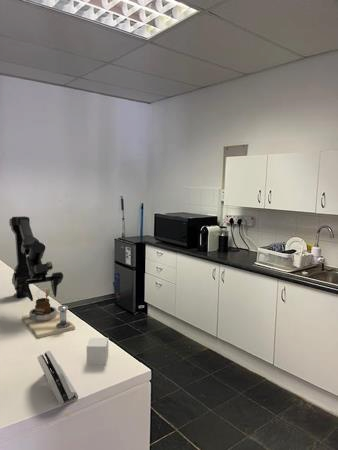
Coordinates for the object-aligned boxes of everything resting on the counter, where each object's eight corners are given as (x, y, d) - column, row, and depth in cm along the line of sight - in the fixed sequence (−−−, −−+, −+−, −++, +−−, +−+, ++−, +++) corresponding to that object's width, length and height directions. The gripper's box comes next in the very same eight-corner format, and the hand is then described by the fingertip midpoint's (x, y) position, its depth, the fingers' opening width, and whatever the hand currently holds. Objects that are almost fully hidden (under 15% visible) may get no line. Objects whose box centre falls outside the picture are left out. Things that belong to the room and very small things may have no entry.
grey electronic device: (79, 398, 88) (66, 368, 85) (62, 410, 86) (47, 379, 83) (61, 368, 102) (49, 341, 99) (46, 378, 99) (33, 350, 97)
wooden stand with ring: (21, 318, 138) (21, 298, 137) (55, 311, 147) (55, 292, 146) (37, 338, 121) (37, 315, 120) (74, 329, 130) (74, 307, 129)
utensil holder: (43, 312, 142) (42, 285, 141) (54, 315, 139) (53, 287, 138) (31, 317, 137) (31, 288, 136) (43, 320, 134) (42, 291, 133)
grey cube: (89, 355, 110) (90, 337, 110) (108, 355, 111) (108, 337, 110) (86, 364, 105) (86, 346, 104) (106, 364, 105) (106, 346, 104)
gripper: (15, 258, 133) (23, 292, 125) (61, 253, 144) (71, 284, 137) (10, 273, 140) (18, 306, 132) (55, 267, 151) (64, 298, 144)
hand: (44, 298), depth 136 cm, fingers open, 9 cm apart
